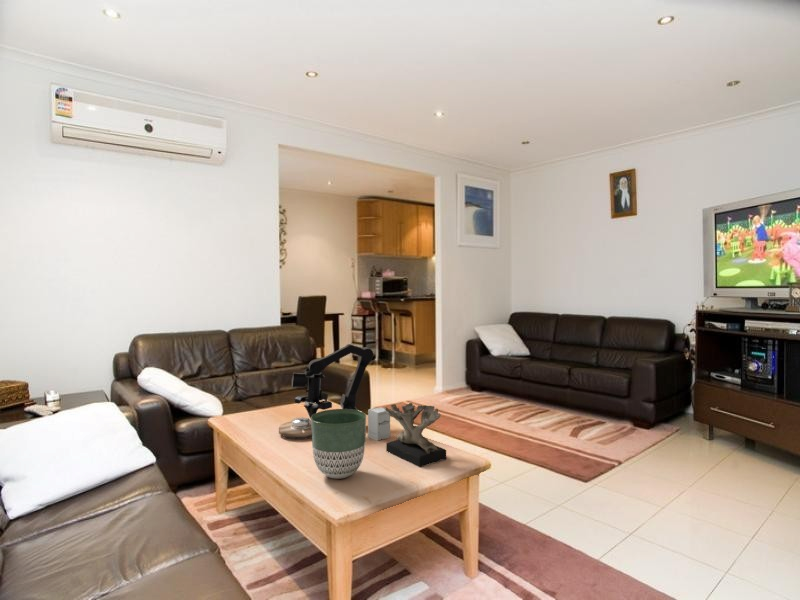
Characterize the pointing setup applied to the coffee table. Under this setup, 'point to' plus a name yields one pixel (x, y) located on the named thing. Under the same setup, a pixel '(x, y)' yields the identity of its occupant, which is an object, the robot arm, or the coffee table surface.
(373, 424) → the supplement box
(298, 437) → the turntable base
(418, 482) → the coffee table surface
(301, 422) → the cover
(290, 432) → the turntable
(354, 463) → the planter
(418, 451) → the coral
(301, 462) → the coffee table surface
